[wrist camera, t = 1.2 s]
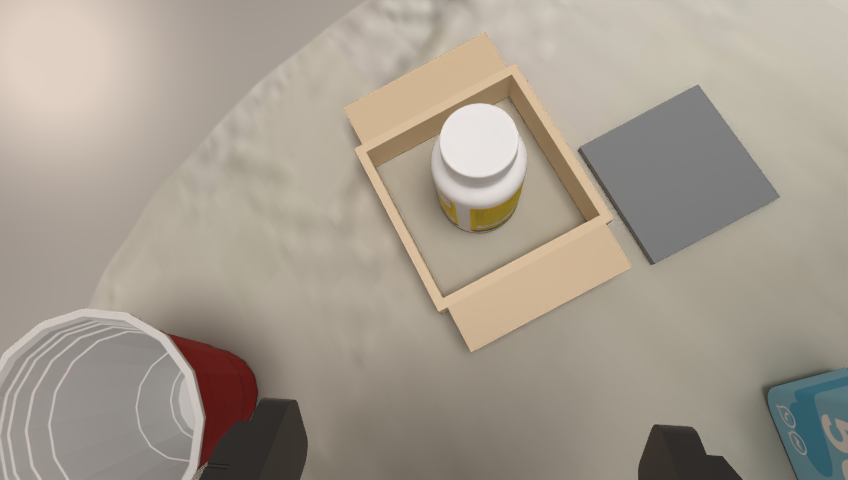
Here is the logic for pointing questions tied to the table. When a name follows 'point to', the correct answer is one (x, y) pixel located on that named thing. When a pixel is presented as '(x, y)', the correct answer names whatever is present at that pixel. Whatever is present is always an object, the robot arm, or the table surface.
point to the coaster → (677, 174)
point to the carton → (492, 82)
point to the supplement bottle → (479, 167)
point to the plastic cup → (115, 400)
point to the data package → (814, 424)
